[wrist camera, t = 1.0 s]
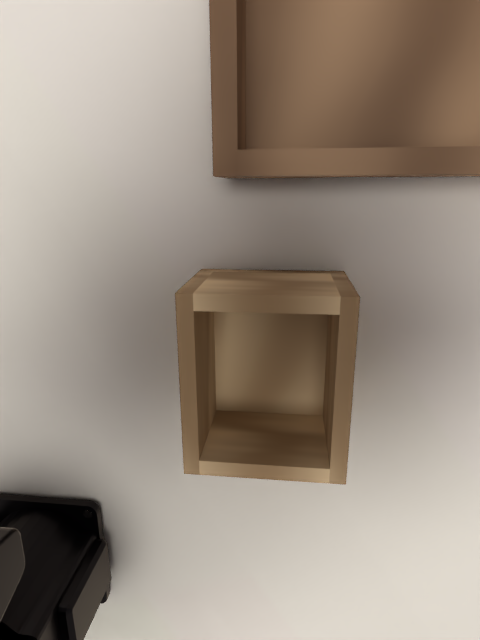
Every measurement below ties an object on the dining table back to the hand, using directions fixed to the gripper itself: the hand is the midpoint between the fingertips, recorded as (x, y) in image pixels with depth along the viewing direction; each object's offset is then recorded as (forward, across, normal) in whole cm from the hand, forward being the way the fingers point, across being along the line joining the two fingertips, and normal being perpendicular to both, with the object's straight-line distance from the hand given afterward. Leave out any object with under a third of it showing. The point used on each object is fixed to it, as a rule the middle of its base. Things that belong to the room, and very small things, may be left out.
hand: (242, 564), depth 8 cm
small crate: (+12, 0, 0) cm, 12 cm away
